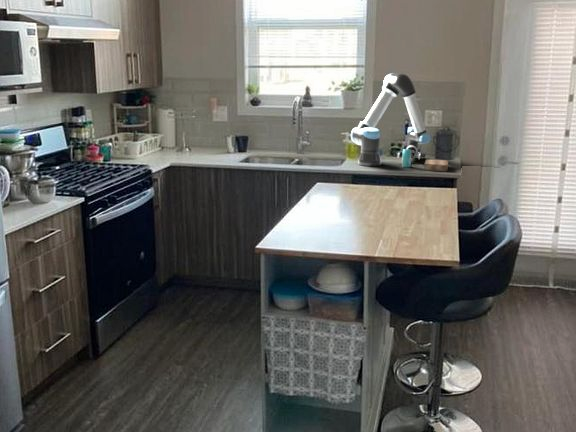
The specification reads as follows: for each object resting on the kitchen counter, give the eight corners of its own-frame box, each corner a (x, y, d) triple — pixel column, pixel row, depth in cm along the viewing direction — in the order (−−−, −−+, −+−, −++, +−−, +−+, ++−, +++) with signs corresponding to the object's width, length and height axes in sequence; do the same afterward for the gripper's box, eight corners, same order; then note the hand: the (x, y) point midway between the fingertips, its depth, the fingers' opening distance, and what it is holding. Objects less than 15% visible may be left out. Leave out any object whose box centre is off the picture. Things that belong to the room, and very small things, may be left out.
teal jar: (401, 167, 409) (402, 150, 406) (402, 165, 414) (403, 148, 411) (410, 167, 407) (411, 150, 405) (410, 166, 412) (411, 149, 410)
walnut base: (424, 170, 399) (424, 163, 398) (425, 165, 416) (426, 159, 415) (446, 171, 396) (447, 165, 395) (447, 166, 412) (448, 160, 411)
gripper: (429, 158, 430) (427, 163, 410) (392, 156, 436) (388, 161, 416) (430, 147, 428) (428, 152, 408) (392, 145, 434) (389, 150, 415)
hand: (408, 156), depth 412 cm, fingers open, 13 cm apart
